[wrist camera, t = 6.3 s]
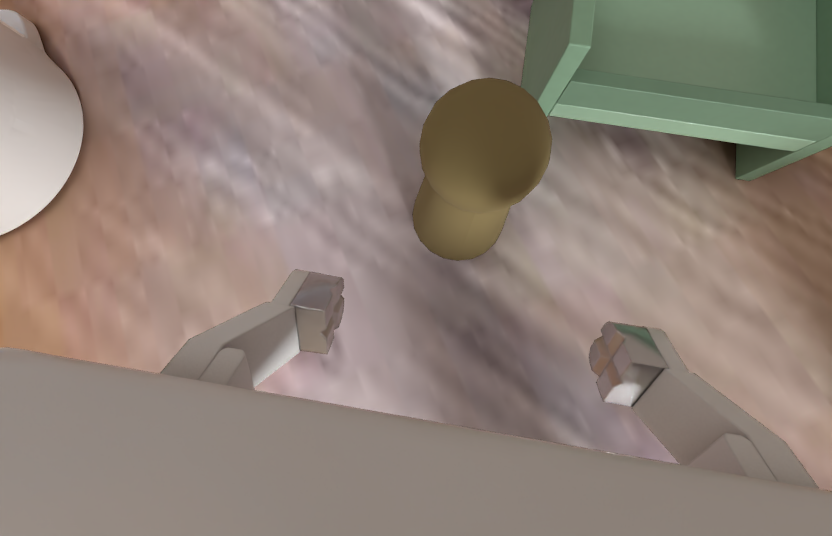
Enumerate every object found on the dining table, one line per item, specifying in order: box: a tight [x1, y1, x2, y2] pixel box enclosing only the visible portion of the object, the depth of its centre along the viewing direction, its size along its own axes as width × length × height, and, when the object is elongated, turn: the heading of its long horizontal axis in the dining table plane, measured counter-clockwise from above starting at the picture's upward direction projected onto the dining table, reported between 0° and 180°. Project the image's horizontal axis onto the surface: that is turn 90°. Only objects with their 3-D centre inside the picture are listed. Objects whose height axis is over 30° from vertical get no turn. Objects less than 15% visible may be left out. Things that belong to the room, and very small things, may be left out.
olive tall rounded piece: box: [412, 78, 552, 261], centre depth 18 cm, size 6×6×11 cm
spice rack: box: [521, 0, 832, 181], centre depth 20 cm, size 16×11×9 cm
